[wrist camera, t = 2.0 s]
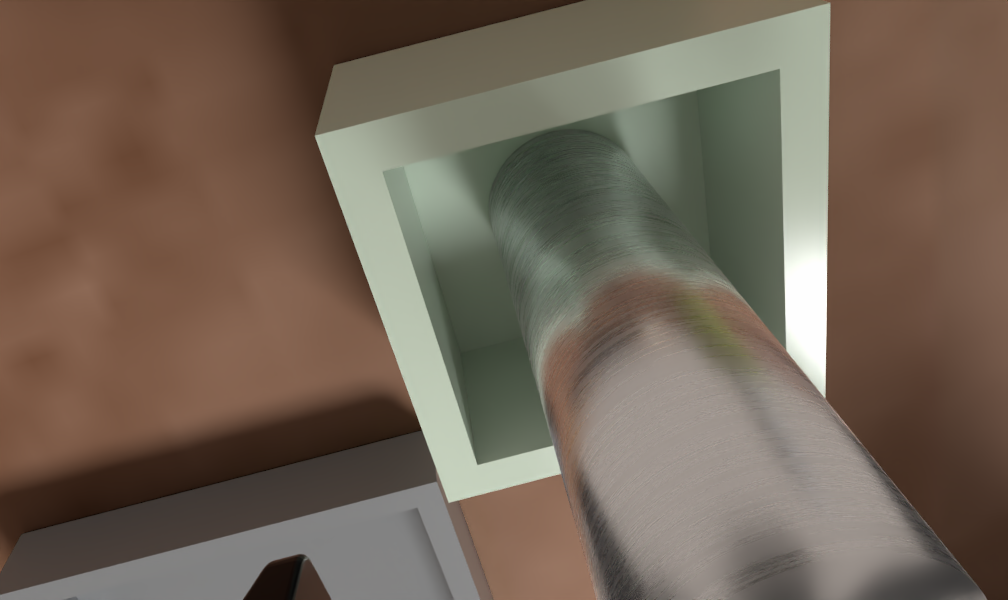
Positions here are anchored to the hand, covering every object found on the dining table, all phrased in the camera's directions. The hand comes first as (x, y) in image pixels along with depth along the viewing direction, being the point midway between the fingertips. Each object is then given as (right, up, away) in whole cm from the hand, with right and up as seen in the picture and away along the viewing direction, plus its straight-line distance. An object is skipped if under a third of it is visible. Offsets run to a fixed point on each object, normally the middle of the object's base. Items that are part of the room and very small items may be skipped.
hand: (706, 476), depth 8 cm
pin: (-1, +4, +6) cm, 8 cm away
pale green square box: (-1, +4, +7) cm, 8 cm away
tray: (-8, -6, +11) cm, 15 cm away
